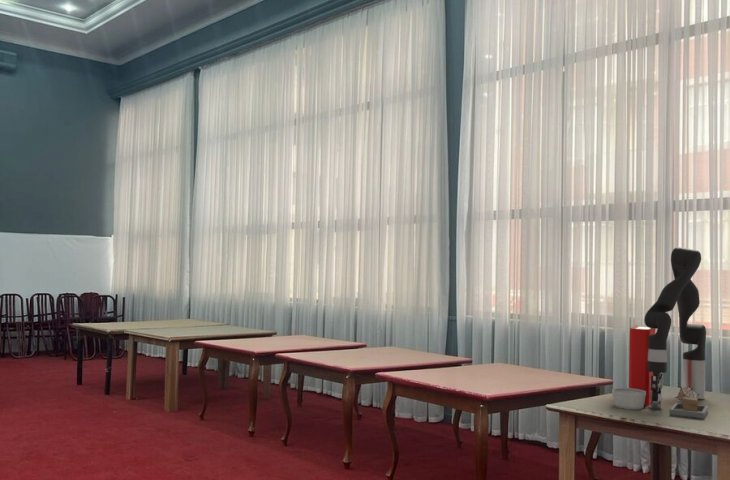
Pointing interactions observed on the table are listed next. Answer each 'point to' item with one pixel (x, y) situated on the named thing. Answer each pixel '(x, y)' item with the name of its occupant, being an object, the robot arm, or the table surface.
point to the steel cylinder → (656, 403)
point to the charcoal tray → (688, 412)
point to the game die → (686, 393)
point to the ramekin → (628, 398)
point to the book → (640, 360)
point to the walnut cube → (690, 404)
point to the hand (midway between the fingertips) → (656, 399)
